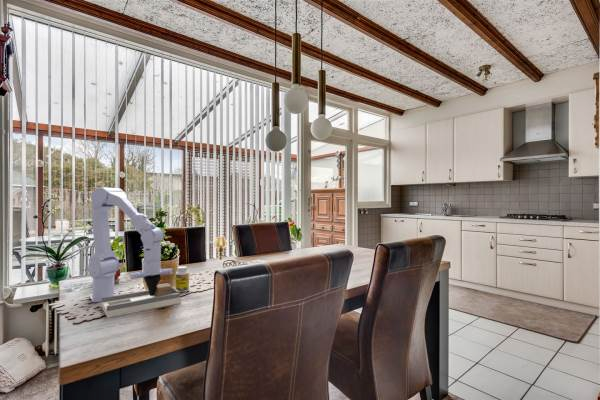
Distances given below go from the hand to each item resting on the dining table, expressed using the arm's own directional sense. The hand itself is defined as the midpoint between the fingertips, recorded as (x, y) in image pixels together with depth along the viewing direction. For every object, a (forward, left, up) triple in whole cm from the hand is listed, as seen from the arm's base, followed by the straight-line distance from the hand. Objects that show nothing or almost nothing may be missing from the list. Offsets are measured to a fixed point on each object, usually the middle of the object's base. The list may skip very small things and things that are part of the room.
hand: (151, 295), depth 116 cm
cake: (-42, -8, -3) cm, 43 cm away
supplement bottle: (-9, +15, -3) cm, 17 cm away
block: (0, +4, -1) cm, 4 cm away
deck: (0, -3, -3) cm, 4 cm away
